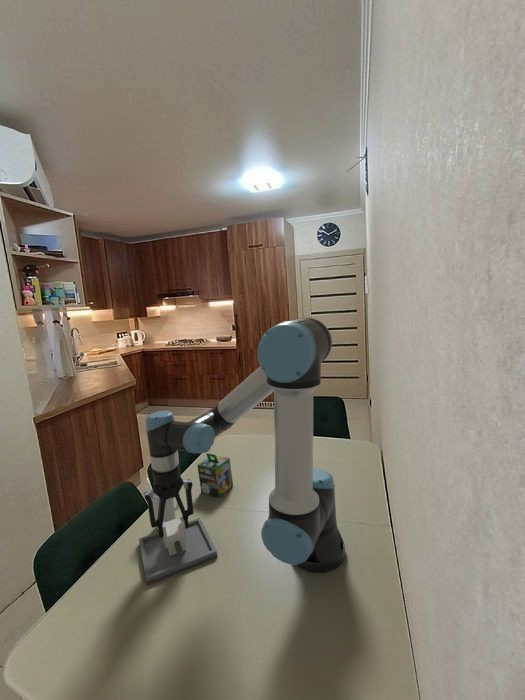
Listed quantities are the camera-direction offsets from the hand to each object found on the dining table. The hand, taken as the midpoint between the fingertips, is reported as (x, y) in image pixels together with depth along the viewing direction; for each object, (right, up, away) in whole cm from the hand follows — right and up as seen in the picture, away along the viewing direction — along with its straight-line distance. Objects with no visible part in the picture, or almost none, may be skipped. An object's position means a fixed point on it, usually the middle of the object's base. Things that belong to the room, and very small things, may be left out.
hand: (175, 541), depth 101 cm
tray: (0, -3, 0) cm, 3 cm away
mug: (-5, -2, +14) cm, 15 cm away
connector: (0, -1, +1) cm, 2 cm away
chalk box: (+8, +2, +32) cm, 33 cm away
